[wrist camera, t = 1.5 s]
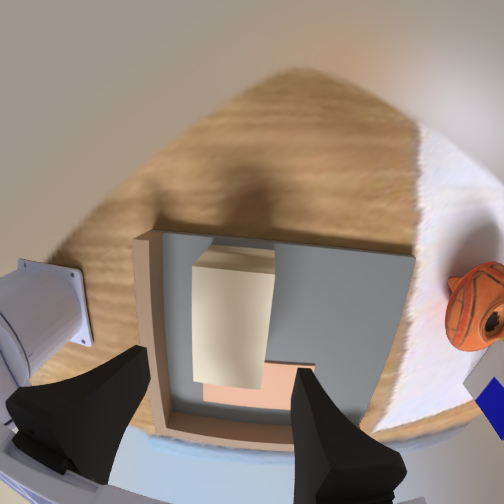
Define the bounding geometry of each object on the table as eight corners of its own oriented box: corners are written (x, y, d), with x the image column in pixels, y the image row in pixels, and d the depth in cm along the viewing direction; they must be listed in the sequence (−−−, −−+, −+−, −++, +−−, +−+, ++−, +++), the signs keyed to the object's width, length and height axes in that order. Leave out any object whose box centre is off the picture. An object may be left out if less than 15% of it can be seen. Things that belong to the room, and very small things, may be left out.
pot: (483, 331, 21) (507, 369, 15) (421, 324, 23) (437, 366, 17) (508, 256, 19) (544, 281, 12) (444, 242, 21) (474, 266, 15)
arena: (165, 410, 26) (155, 432, 23) (151, 229, 21) (132, 239, 18) (354, 426, 25) (360, 449, 22) (411, 254, 20) (431, 267, 17)
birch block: (208, 342, 22) (193, 381, 17) (210, 244, 20) (192, 266, 15) (263, 348, 22) (260, 390, 17) (274, 250, 20) (275, 274, 15)
